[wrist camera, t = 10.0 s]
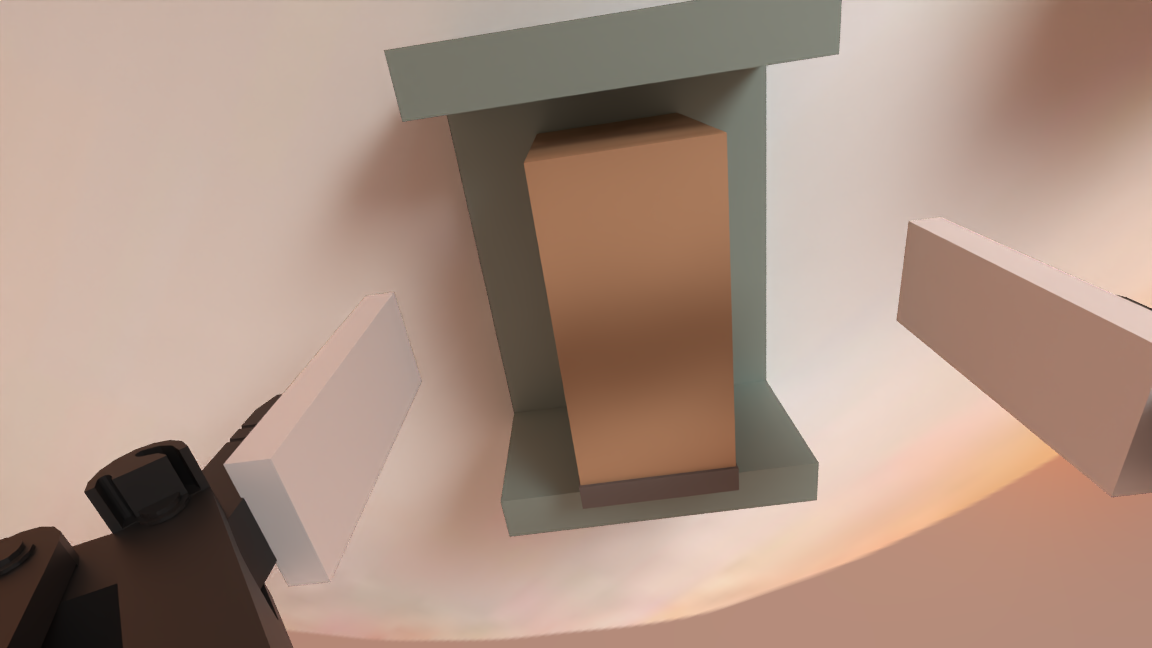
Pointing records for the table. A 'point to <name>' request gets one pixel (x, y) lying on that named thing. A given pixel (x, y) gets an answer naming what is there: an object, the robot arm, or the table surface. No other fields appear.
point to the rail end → (640, 303)
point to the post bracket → (507, 231)
